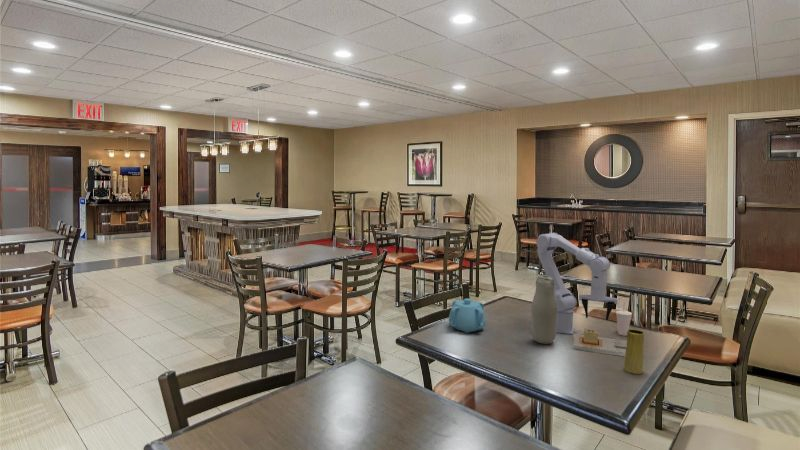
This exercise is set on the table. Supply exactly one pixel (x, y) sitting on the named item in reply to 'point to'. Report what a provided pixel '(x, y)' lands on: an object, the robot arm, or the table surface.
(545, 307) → the glass bottle
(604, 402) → the table surface
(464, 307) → the decorative pot
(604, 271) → the robot arm
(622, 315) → the smoothie
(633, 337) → the vase
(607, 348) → the panel
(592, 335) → the brass nut
